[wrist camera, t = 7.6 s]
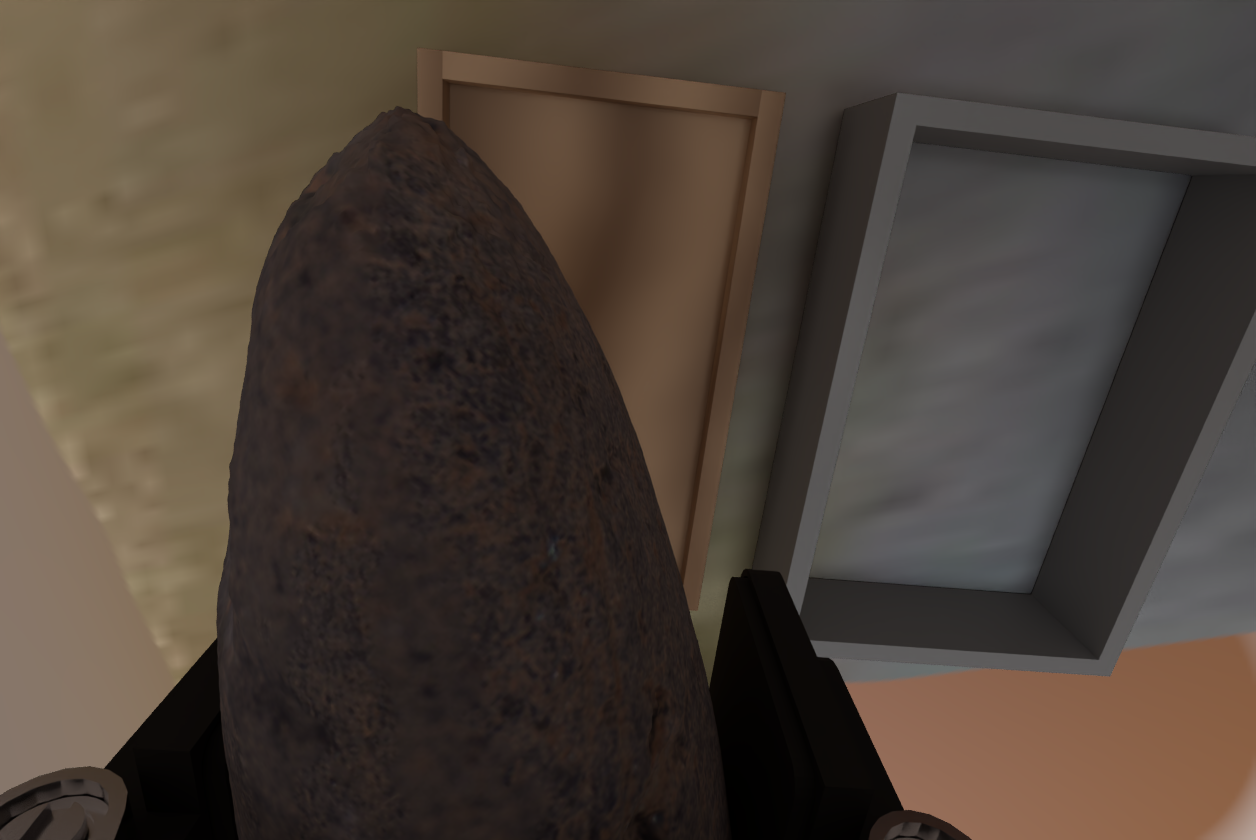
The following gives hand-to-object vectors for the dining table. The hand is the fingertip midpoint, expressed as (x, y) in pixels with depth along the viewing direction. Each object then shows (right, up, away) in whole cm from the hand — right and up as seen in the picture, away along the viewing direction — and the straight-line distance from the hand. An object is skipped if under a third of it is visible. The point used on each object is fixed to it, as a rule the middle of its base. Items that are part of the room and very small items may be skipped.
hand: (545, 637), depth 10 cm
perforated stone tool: (0, 0, +1) cm, 1 cm away
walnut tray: (-1, +6, +16) cm, 17 cm away
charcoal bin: (+15, +4, +17) cm, 23 cm away
